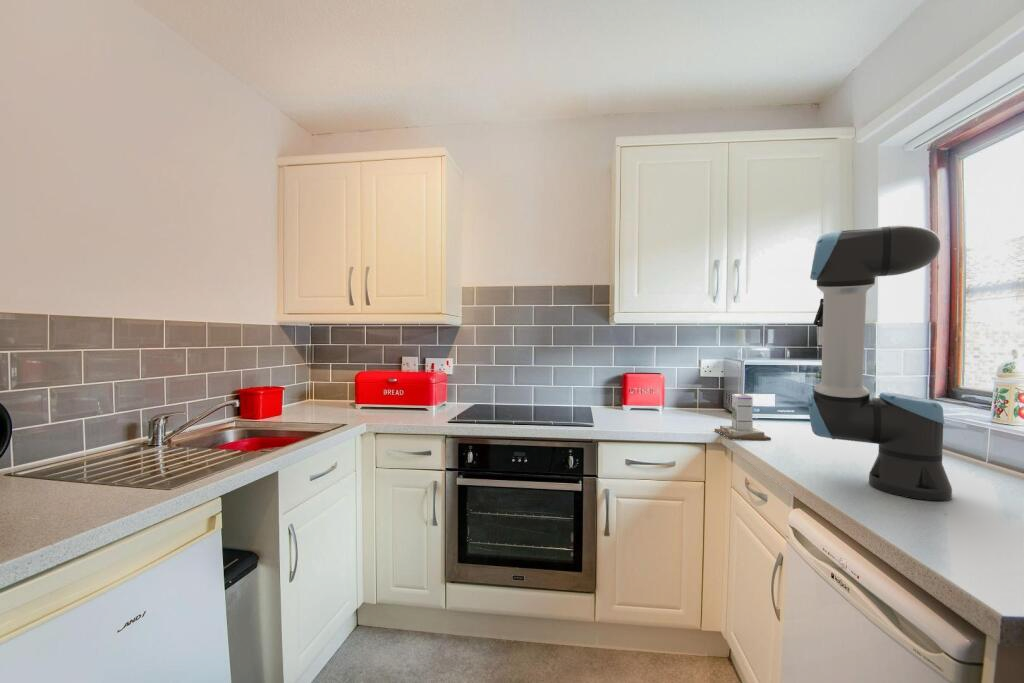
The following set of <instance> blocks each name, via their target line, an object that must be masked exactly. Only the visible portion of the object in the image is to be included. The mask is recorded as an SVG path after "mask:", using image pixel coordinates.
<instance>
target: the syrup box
mask: <svg viewBox="0 0 1024 683" xmlns="http://www.w3.org/2000/svg"><path fill="white" fill-rule="evenodd" d="M753 397H754V396H752V395H749V394H744V393H732V395H731V426H732V429H733V430H736V431H752V428H754V427H753V425H754V424H753V419H754V418H753V414H754V413H753V411H754V410H753V406H754V405H753V402H754V401H753V400H754V399H753Z"/></svg>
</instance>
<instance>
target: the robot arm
mask: <svg viewBox="0 0 1024 683" xmlns="http://www.w3.org/2000/svg"><path fill="white" fill-rule="evenodd" d="M941 248H942V240H941V239H940V237H939V235H938V234H937V233H936V232H934V231H933V230H931V229H929V228H926V227H922V226H914V225H904V224H903V225H901V224H898V225H888V226H879V227H867V228H866V227H865V228H857V229H847V230H842V229H841V230H837V231H830V232H825V233H822V234H820V235H819V236H818V237H817V240H816V243H815V247H814V252H813V259H812V265H811V272H810V276H809V279H810V280H812V281H816V288H818V289H819V290H820V291H821V292H822V293H823V297H822V298H820V300H819V306H818V309H817V312H816V315H815V318H814V320H813V325H815V326H816V327H818V328H817V336H818V341H817V342H818V346H822V347H821V373H820V374H821V375H820V376H821V378H820V382H819V383H818V384H816V385H814V387H813V392H810V393H807V405H808V413H809V421H810V422H809V423H810V427H811V431H812V433H813V434H814V435H815V436H817V437H821V438H826V439H831V440H841V441H850V442H859V443H868V444H874V445H875V444H876V445H878V451H877V452H878V454H877V456H876V458H875V461H874V463H873V465H872V467H871V469H870V472H869V474H868V483H869V485H870V486H872V487H874V488H876V489H877V488H878V490H880V491H883V492H886V493H889V492H890V494H892V493H894V494H893V495H896V494H898V495H897V496H900V495H902V496H901V497H905V496H907V497H906V498H910V497H912V498H911V499H915V498H917V499H916V500H922V499H925V500H924V501H932V500H945V501H948V500H947V499H950V498H951V497H953V488H952V485H951V483H950V481H949V478H948V474H947V473H946V470H945V468H944V465H943V446H944V445H943V444H944V443H943V442H944V441H943V440H944V424H945V421H944V420H945V419H944V418H945V417H944V409H943V408H944V407H943V406H942V405H941V404H940V403H938V402H937V401H934V400H931V399H926V398H923V397H917V396H913V395H907V394H901V393H894V392H883V391H882V392H880V393H879V395H878V397H871V396H870V390H869V389H868V388H867V387H866V386H865V385H864V384H863V380H864V379H863V375H864V373H863V372H864V358H865V357H864V356H865V352H864V351H865V334H866V332H865V331H866V330H865V329H866V312H867V311H866V309H867V293H868V291H869V290H870V289H871V288H872V287H873V286H875V284H876V277H889V276H898V275H903V274H906V273H911V272H914V271H916V270H919V269H921V268H924V267H927V266H928V265H929V264H930V263H932V262H933V261H935V259H936V258H937V257H938V256H939V255H940V252H941V251H942V250H941ZM951 499H952V498H951ZM951 499H950V500H951Z"/></svg>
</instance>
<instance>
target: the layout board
mask: <svg viewBox="0 0 1024 683" xmlns="http://www.w3.org/2000/svg"><path fill="white" fill-rule="evenodd" d="M714 430H715V431H717V432H720V433H722V434H723V435H725V436H726V437H725V436H724V437H725V438H727V437H728V438H727V439H729V440H731V441H733V440H732V439H741V440H740V441H767V440H771V441H772V438H771V437H770V436H767V435H766V434H765V432H764V431H761V430H759V429H756V428H754V427H753V428H752V431H736V430H733V429H732V425H720V426H719V428H714ZM715 431H714V432H715ZM717 432H716V433H717ZM723 435H722V436H723Z"/></svg>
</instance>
